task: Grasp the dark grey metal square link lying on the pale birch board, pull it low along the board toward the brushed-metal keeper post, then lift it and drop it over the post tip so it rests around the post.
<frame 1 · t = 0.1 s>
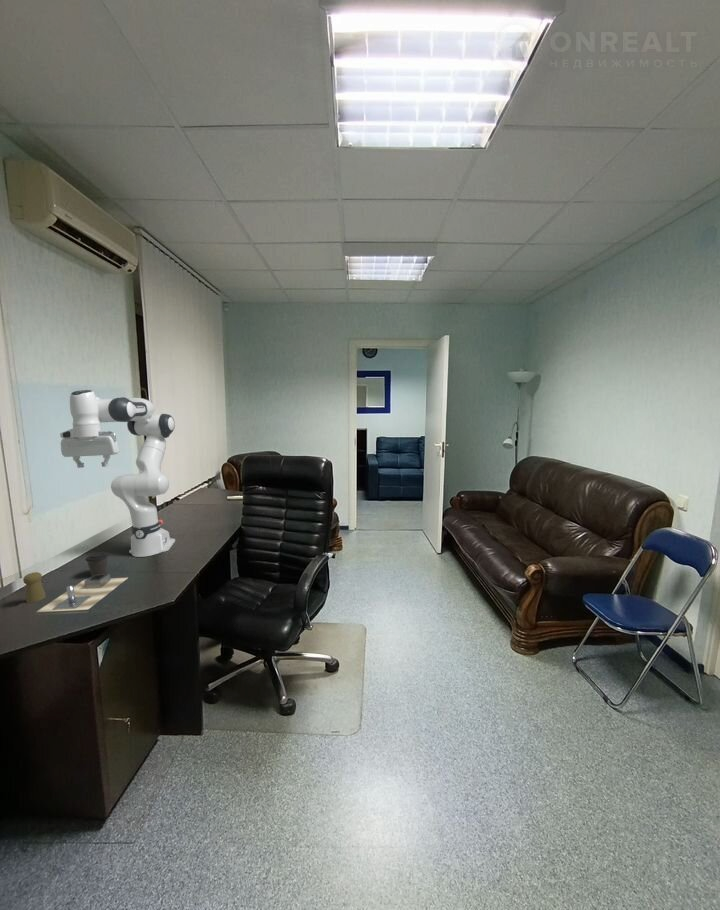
hand: (93, 467, 148), 48 cm above the table, fingers open, 8 cm apart
coffee cup: (100, 577, 159), on the table
keeper post: (72, 606, 136), resting on board
board: (86, 596, 143), on the table
cork: (36, 602, 140), on the table
link: (98, 584, 149), point 1 cm above the table, touching board
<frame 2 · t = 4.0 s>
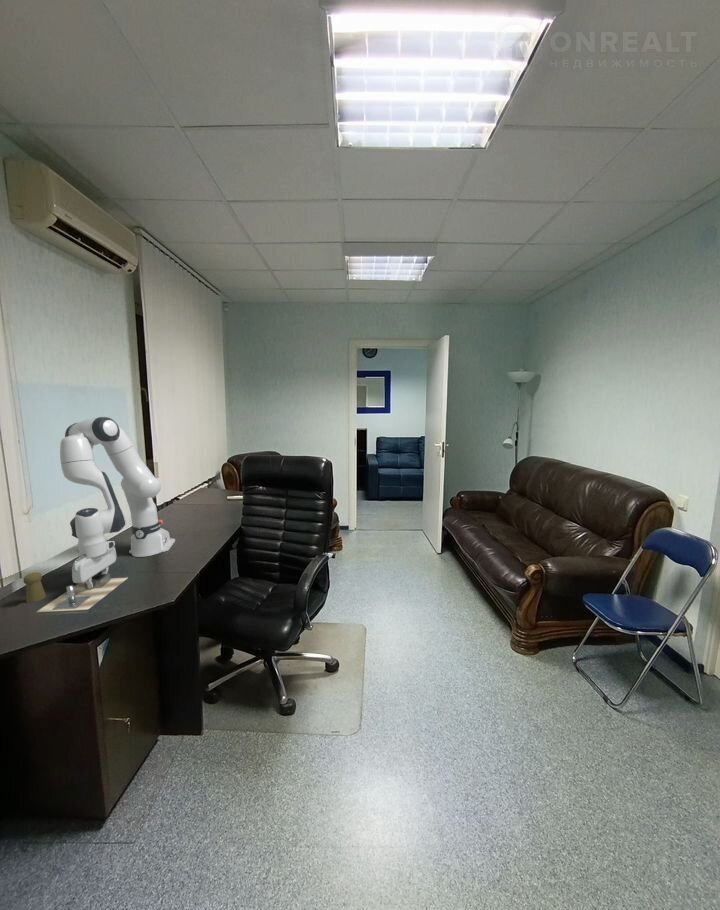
hand: (97, 582, 149), 2 cm above the table, fingers closed on link, 6 cm apart
link: (98, 584, 149), point 1 cm above the table, touching board, gripper
everything else where it was.
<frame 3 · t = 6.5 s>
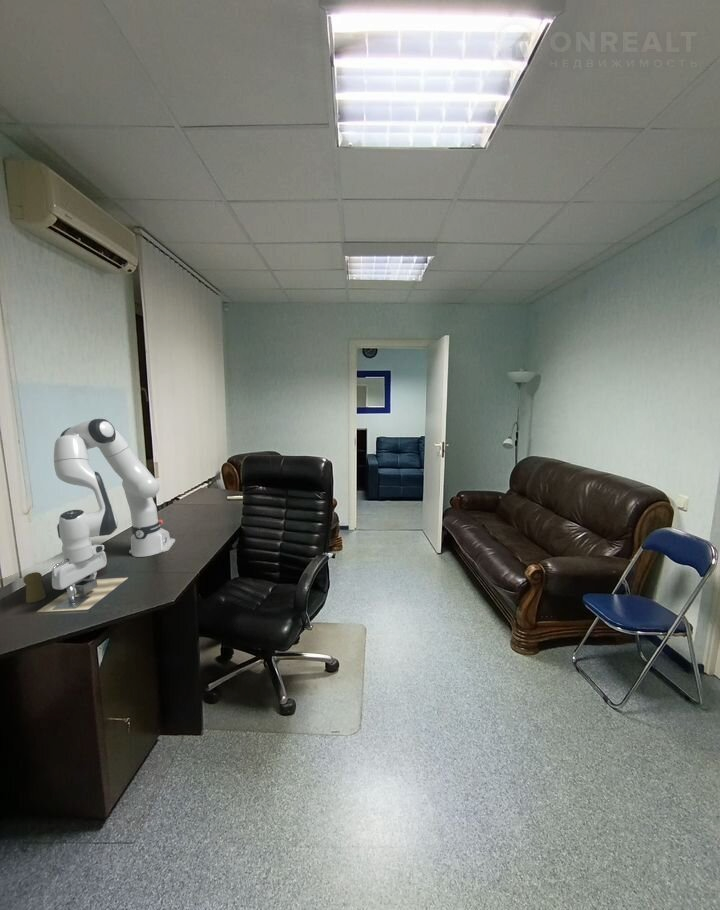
hand: (83, 588, 142), 3 cm above the table, fingers closed on link, 6 cm apart
link: (83, 590, 142), point 3 cm above the table, touching gripper
everything else where it was.
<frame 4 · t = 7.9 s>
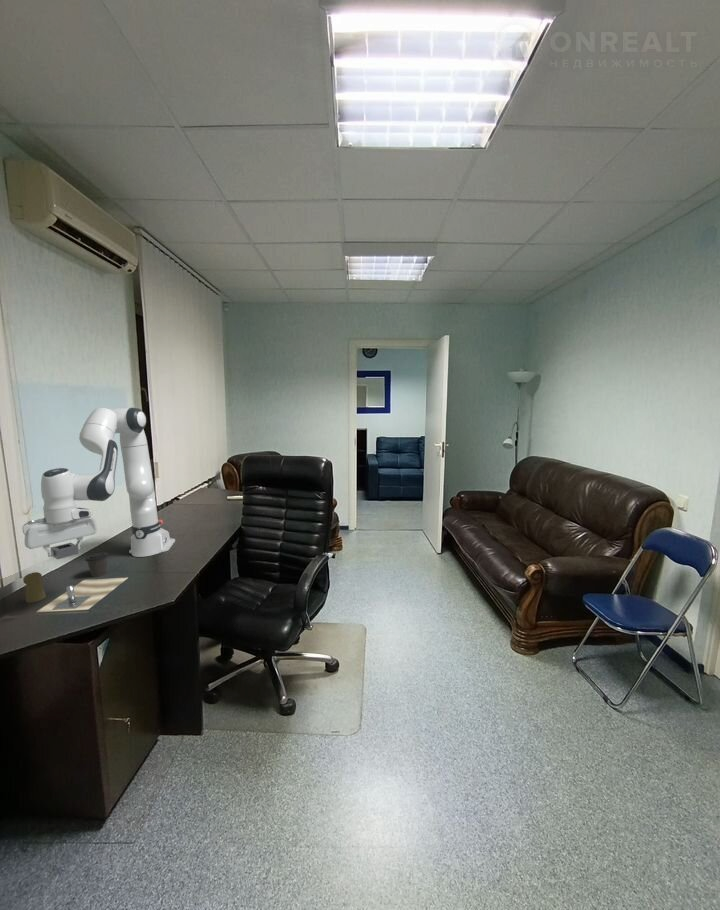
hand: (64, 553, 133), 20 cm above the table, fingers closed on link, 6 cm apart
link: (64, 554, 133), point 20 cm above the table, touching gripper
everything else where it was.
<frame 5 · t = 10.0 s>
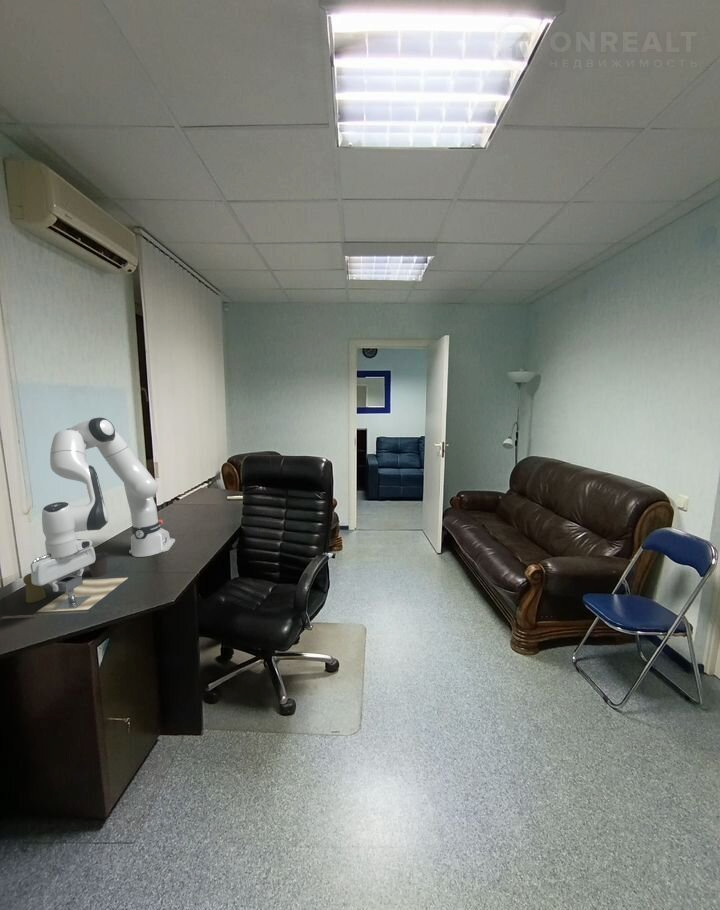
hand: (68, 585, 134), 8 cm above the table, fingers closed on link, 6 cm apart
link: (68, 587, 135), point 7 cm above the table, touching gripper
everything else where it was.
when the fingers open (4 cm above the table, at t = 11.7 s): link drops 2 cm, resting on keeper post.
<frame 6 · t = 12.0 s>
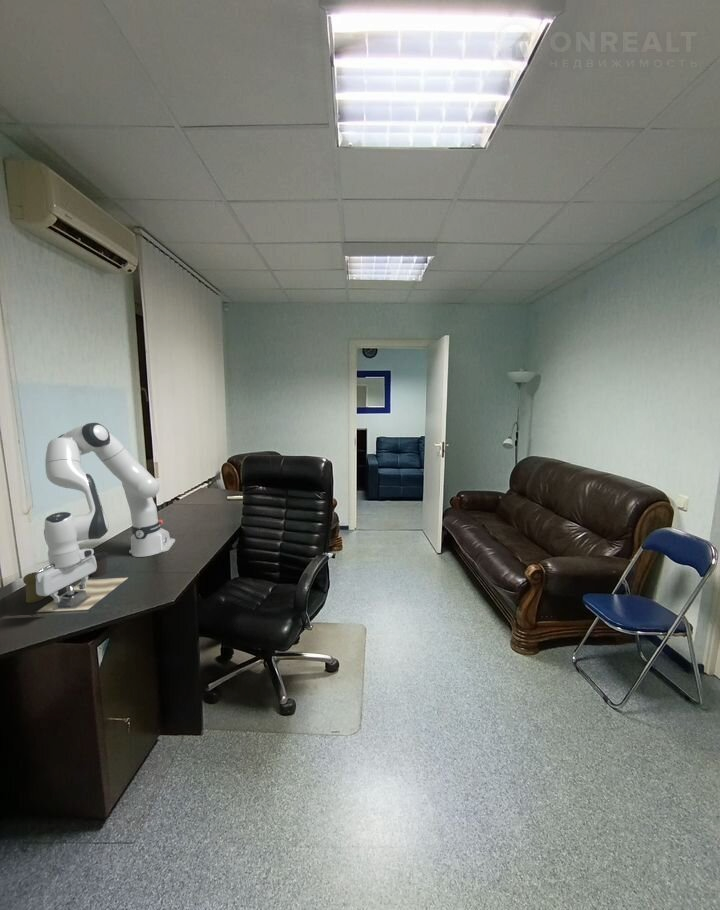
hand: (71, 594, 135), 4 cm above the table, fingers open, 8 cm apart
link: (72, 602, 136), point 2 cm above the table, touching keeper post
everything else where it was.
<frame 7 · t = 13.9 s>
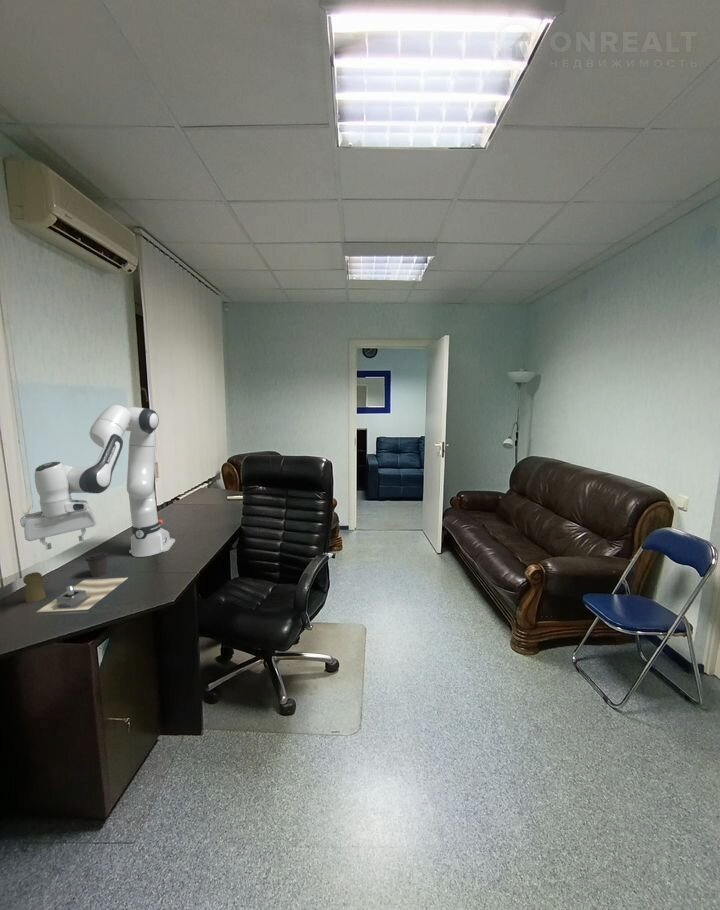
hand: (65, 544, 136), 22 cm above the table, fingers open, 8 cm apart
nothing on the table moved.
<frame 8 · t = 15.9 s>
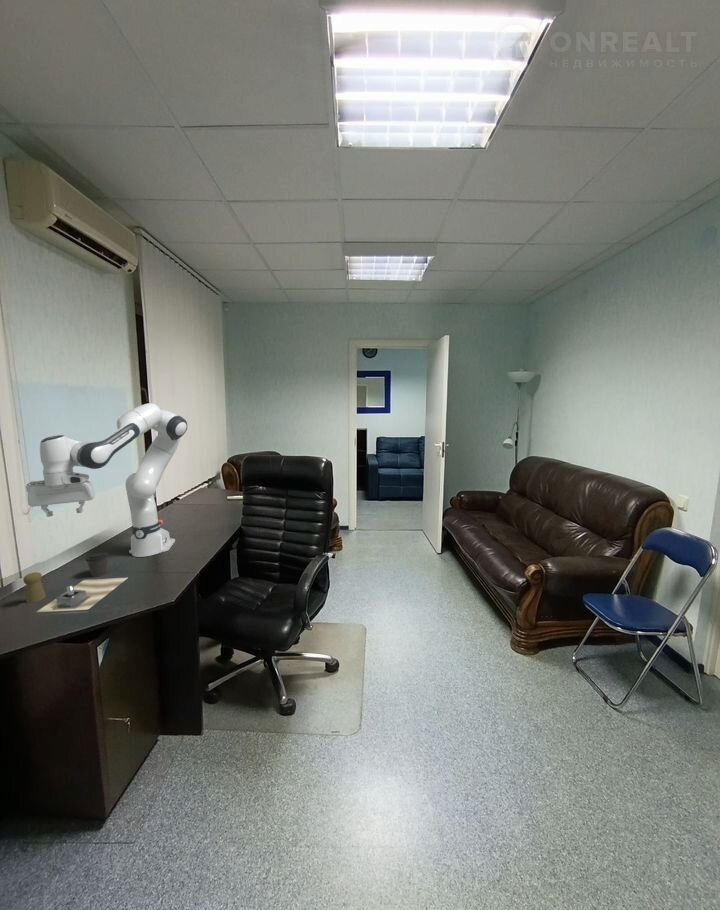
hand: (65, 514, 143), 31 cm above the table, fingers open, 8 cm apart
nothing on the table moved.
at the end: link 0.1 cm from the keeper post (horizontally); link point 1.6 cm above the table; the gripper is holding nothing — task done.
